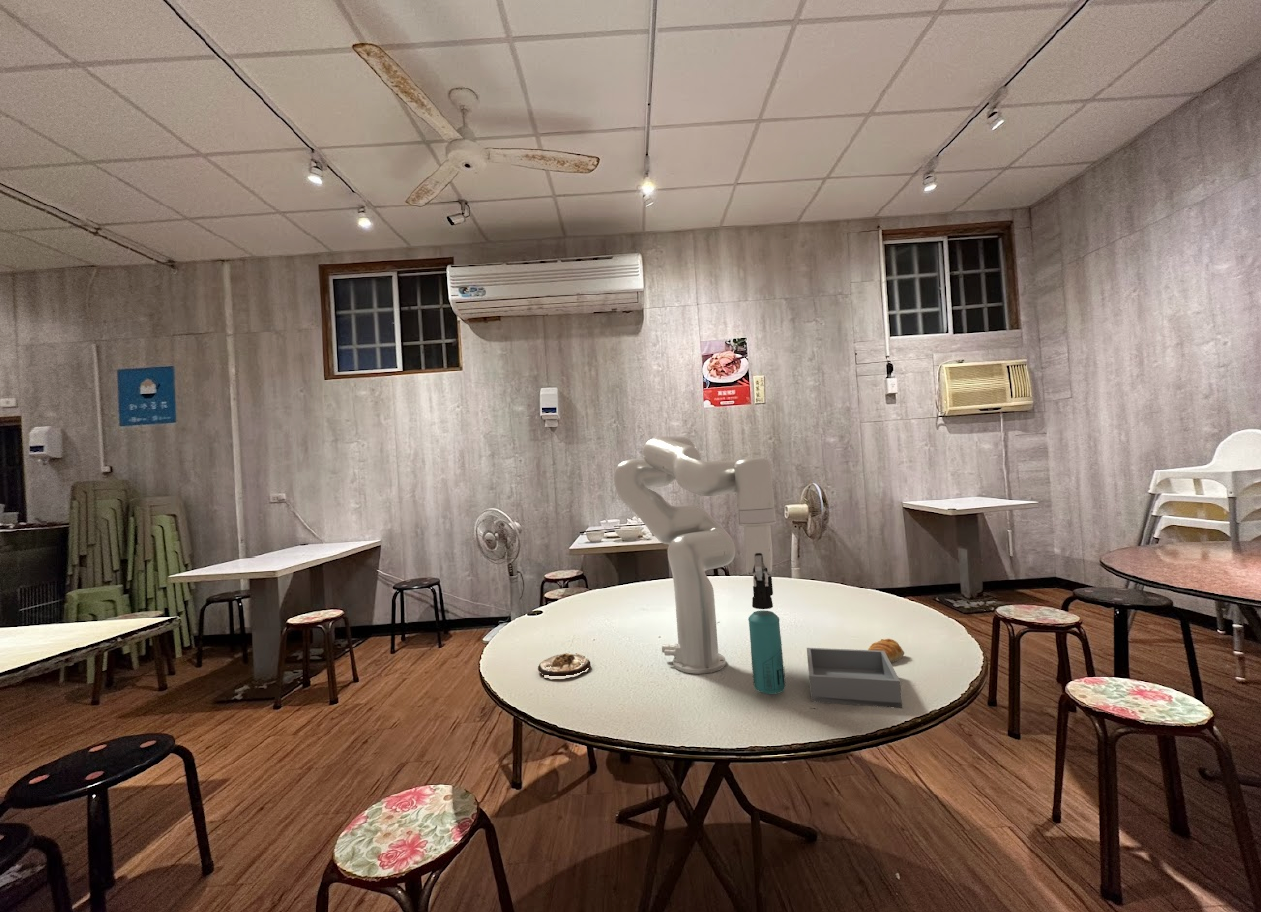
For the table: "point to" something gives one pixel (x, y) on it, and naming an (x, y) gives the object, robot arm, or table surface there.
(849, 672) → the bin
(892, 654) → the pastry
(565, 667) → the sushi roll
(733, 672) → the table surface
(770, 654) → the beverage bottle
